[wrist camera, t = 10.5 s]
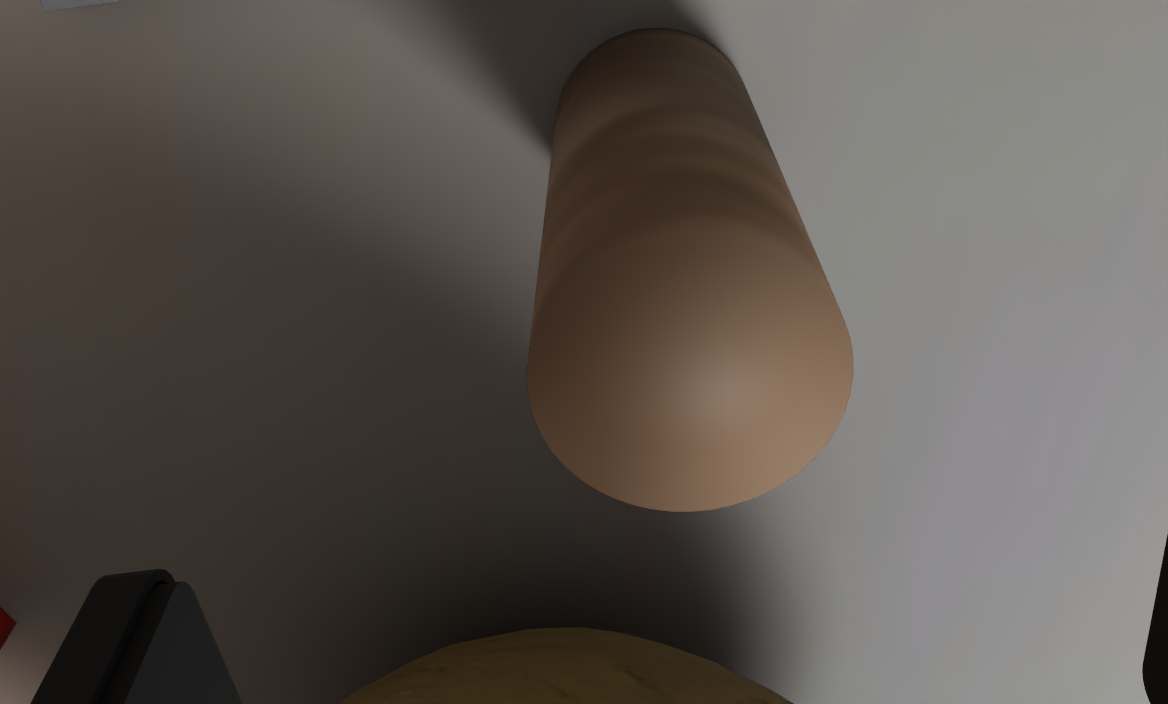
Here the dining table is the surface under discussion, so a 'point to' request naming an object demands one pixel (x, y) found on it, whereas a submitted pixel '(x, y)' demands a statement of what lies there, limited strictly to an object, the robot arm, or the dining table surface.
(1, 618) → the baking soda box
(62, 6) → the rail board
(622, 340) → the dowel
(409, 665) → the clay pot
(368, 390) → the dining table surface
